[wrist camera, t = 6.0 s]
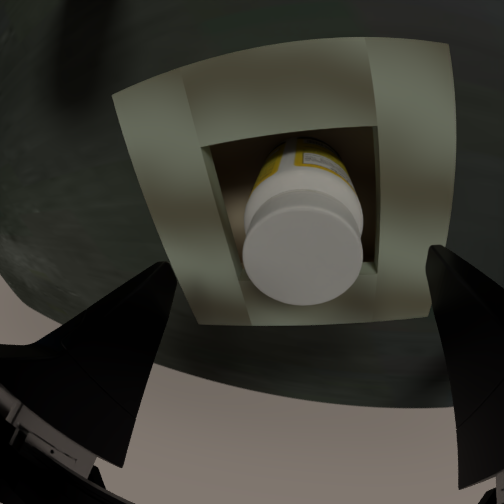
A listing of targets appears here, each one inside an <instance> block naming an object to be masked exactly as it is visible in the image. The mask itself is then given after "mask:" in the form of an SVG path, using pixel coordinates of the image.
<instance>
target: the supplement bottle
mask: <svg viewBox="0 0 504 504" xmlns="http://www.w3.org/2000/svg"><path fill="white" fill-rule="evenodd" d="M244 229H245V233H246V238H245V241H244V245H243V251H242V256H243V264H244V267H245V270H246V273H247V275H248V277H249V278H250V280H251V281H252V282H253V284H254V285H255V286H256V287H257V288H258V289H259V290H260V291H261V292H263V293H264V294H266V295H267V296H269V297H271V298H273V299H275V300H277V301H280V302H283V303H286V304H291V305H301V306H305V305H316V304H321V303H324V302H327V301H330V300H332V299H335V298H336V297H338V296H340V295H341V294H343V293H344V292H345V291H346V290H347V289H349V288H350V286H351V285H352V284H353V283H354V282H355V280H356V279H357V277H358V275H359V273H360V270H361V267H362V262H363V249H362V243H361V239H360V238H361V235H362V230H363V214H362V208H361V204H360V202H359V199H358V197H357V194H356V192H355V189H354V187H353V184H352V182H351V179H350V177H349V175H348V172H347V170H346V168H345V166H344V163H343V161H342V159H341V157H340V156H339V154H338V153H337V151H336V150H335V149H334V148H333V147H332V146H330V145H329V144H328V143H326V142H325V141H323V140H320V139H318V138H315V137H310V136H296V137H292V138H289V139H286V140H284V141H282V142H281V143H279V144H278V145H276V146H275V147H274V148H273V149H272V150H271V151H270V152H269V154H268V155H267V157H266V159H265V161H264V164H263V166H262V168H261V171H260V173H259V175H258V178H257V180H256V182H255V184H254V187H253V189H252V192H251V194H250V196H249V199H248V201H247V204H246V207H245V212H244Z"/></svg>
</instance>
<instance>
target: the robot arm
mask: <svg viewBox="0 0 504 504" xmlns="http://www.w3.org/2000/svg"><path fill="white" fill-rule="evenodd" d="M425 272H426V277H427V281H428V286H429V291H430V296H431V301H432V307H433V312H434V315H435V319H436V323H437V327H438V330H439V334H440V338H441V342H442V346H443V351H444V355H445V360H446V364H447V369H448V375H449V380H450V386H451V392H452V398H453V405H454V412H455V421H456V429H457V430H456V433H457V445H458V488H459V490H461V489H464V488H467V487H470V486H472V485H475V484H478V483H480V482H483V481H486V480H488V479H490V478H493V477H496V488H493V489H491V490H489V491H487V492H486V493H485V494H484V496H483V498H482V499H481V500H480V502H479V503H478V504H504V289H503V288H502V287H501V286H500V285H498V284H497V283H496V282H494V281H493V280H492V279H490V278H489V277H488V276H486V275H485V274H483V273H482V272H481V271H479V270H478V269H477V268H475V267H474V266H472V265H471V264H469V263H468V262H467V261H465V260H464V259H462V258H461V257H459V256H458V255H456V254H455V253H453V252H452V251H450V250H449V249H447V248H446V247H444V246H442V245H440V244H439V245H431V246H430V247H429V249H428V255H427V260H426V266H425ZM176 286H177V279H176V277H175V274H174V272H173V270H172V267H171V265H170V263H169V262H167V261H163V262H157V263H155V264H154V265H152V266H150V267H149V268H147V269H146V270H144V271H143V272H141V273H140V274H138V275H137V276H135V277H133V278H132V279H130V280H129V281H127V282H126V283H124V284H123V285H121V286H120V287H118V288H117V289H115V290H114V291H112V292H111V293H109V294H108V295H106V296H105V297H103V298H102V299H100V300H99V301H97V302H96V303H95V304H93V305H92V306H90V307H89V308H87V310H84V311H83V312H81V313H80V314H78V315H77V316H76V317H74V318H73V319H71V320H70V321H68V322H67V323H65V324H63V325H62V326H60V327H59V328H57V329H56V330H54V331H52V332H51V333H49V334H48V335H46V336H45V337H43V338H41V339H40V340H38V341H37V342H35V343H32V344H29V345H6V344H0V503H3V504H135V503H132V502H130V501H128V500H126V499H123V498H122V497H119V496H117V495H115V494H113V493H111V492H110V491H108V490H106V488H105V485H104V483H103V480H102V477H101V474H100V472H99V469H98V467H96V466H94V465H93V464H94V462H95V460H96V457H99V458H101V459H103V460H105V461H107V462H109V463H111V464H113V465H115V466H117V467H120V468H122V467H123V465H124V461H125V457H126V453H127V449H128V446H129V442H130V438H131V435H132V431H133V428H134V424H135V421H136V417H137V413H138V410H139V407H140V403H141V400H142V397H143V394H144V390H145V387H146V384H147V381H148V378H149V374H150V371H151V368H152V365H153V362H154V359H155V356H156V353H157V350H158V347H159V344H160V341H161V339H162V336H163V333H164V330H165V327H166V324H167V321H168V318H169V314H170V310H171V306H172V302H173V298H174V294H175V290H176Z"/></svg>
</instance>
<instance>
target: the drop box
mask: <svg viewBox="0 0 504 504" xmlns="http://www.w3.org/2000/svg"><path fill="white" fill-rule="evenodd" d="M112 98H113V102H114V105H115V109H116V112H117V116H118V119H119V122H120V126H121V129H122V132H123V136H124V139H125V142H126V145H127V148H128V151H129V154H130V157H131V160H132V163H133V166H134V169H135V172H136V175H137V178H138V181H139V183H140V186H141V189H142V192H143V195H144V197H145V200H146V203H147V205H148V208H149V211H150V213H151V216H152V218H153V221H154V224H155V226H156V229H157V231H158V234H159V236H160V239H161V241H162V243H163V246H164V248H165V251H166V253H167V255H168V258H169V260H170V263H171V265H172V267H173V269H174V272H175V274H176V276H177V279H178V281H179V283H180V285H181V288H182V290H183V292H184V294H185V296H186V298H187V301H188V303H189V305H190V307H191V309H192V311H193V313H194V316H195V318H196V320H197V322H198V324H204V325H239V326H290V325H325V324H346V323H362V322H376V321H388V320H399V319H409V318H419V317H427V316H428V314H429V310H430V307H431V304H432V301H431V296H430V291H429V286H428V281H427V277H426V272H425V266H426V260H427V255H428V249H429V247H430V246H431V245H439V244H440V245H442V246H444V247H445V245H446V240H447V234H448V228H449V222H450V215H451V207H452V199H453V189H454V177H455V161H456V109H455V93H454V82H453V73H452V65H451V58H450V51H449V45H448V44H444V43H438V42H430V41H422V40H413V39H401V38H381V37H346V38H326V39H314V40H304V41H295V42H288V43H281V44H274V45H268V46H262V47H257V48H252V49H247V50H242V51H238V52H234V53H229V54H225V55H221V56H217V57H214V58H210V59H206V60H203V61H200V62H196V63H193V64H190V65H187V66H183V67H180V68H177V69H175V70H172V71H169V72H166V73H163V74H161V75H158V76H155V77H153V78H150V79H148V80H145V81H143V82H140V83H138V84H135V85H133V86H131V87H129V88H126V89H124V90H122V91H120V92H117V93H115V94H113V95H112ZM296 136H310V137H315V138H318V139H320V140H323V141H325V142H326V143H328V144H329V145H330V146H332V147H333V148H334V149H335V150H336V151H337V153H338V154H339V156H340V157H341V159H342V161H343V163H344V166H345V168H346V170H347V172H348V175H349V177H350V179H351V182H352V184H353V187H354V189H355V192H356V194H357V197H358V199H359V202H360V204H361V208H362V214H363V230H362V235H361V238H360V239H361V243H362V249H363V262H362V267H361V270H360V273H359V275H358V277H357V279H356V280H355V282H354V283H353V284H352V285H351V286H350V288H349V289H347V290H346V291H345V292H344V293H343V294H341V295H340V296H338V297H336V298H335V299H332V300H330V301H327V302H324V303H321V304H316V305H305V306H301V305H291V304H286V303H283V302H280V301H277V300H275V299H273V298H271V297H269V296H267V295H266V294H264V293H263V292H261V291H260V290H259V289H258V288H257V287H256V286H255V285H254V284H253V282H252V281H251V280H250V278H249V277H248V275H247V273H246V270H245V267H244V264H243V256H242V251H243V245H244V241H245V238H246V233H245V229H244V212H245V207H246V204H247V201H248V199H249V196H250V194H251V192H252V189H253V187H254V184H255V182H256V180H257V178H258V175H259V173H260V171H261V168H262V166H263V164H264V161H265V159H266V157H267V155H268V154H269V152H270V151H271V150H272V149H273V148H274V147H275V146H276V145H278V144H279V143H281V142H282V141H284V140H286V139H289V138H292V137H296Z"/></svg>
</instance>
